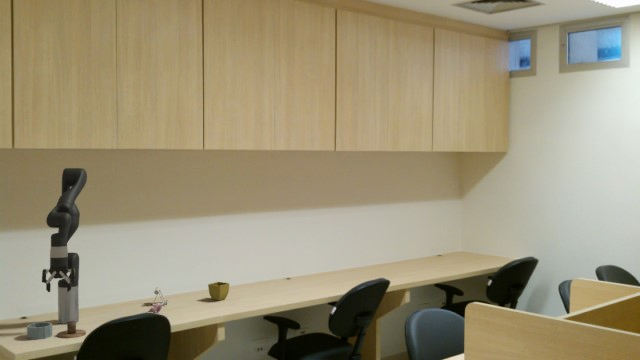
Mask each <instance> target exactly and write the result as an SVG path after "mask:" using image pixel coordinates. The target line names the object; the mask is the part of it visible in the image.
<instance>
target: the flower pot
mask: <svg viewBox="0 0 640 360" xmlns="http://www.w3.org/2000/svg"><path fill="white" fill-rule="evenodd" d="M207 286H208V288H207V289H208V293H209V296H210V298H211V299H212V301H223V300H226V299H227V297H228V295H229V291H230V283H229V282H223V281H216V282H212V283H208V284H207Z"/></svg>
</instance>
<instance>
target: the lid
mask: <svg viewBox="0 0 640 360" xmlns="http://www.w3.org/2000/svg"><path fill="white" fill-rule="evenodd" d="M66 325H67V329H66V330H62V331H60V332H57V338H60V339H75V338H80V337H84V336H86V334H87V331H86V330H84V329H77V322H76V321H68V322H67V324H66Z"/></svg>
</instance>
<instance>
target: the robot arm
mask: <svg viewBox="0 0 640 360" xmlns="http://www.w3.org/2000/svg"><path fill="white" fill-rule="evenodd" d="M87 181H88V173H87V170H86V169H85V168H79V167H66V168H64V169H63V171H62V174H61V195H60V196H59V198H58V201H57V203H56V205H55V207H53V208H52V210H50V212H49V213H48V215H47V216H46V225H47V226H48V227H49V228H51V229H58V230H57V231H58V232H56V233H52V234H51V235H50V250H49V269H48V268H47V269H46V268H43V269H42V271H41V272H42V274H41V283H44V284H46V285H45V286H46V287H45V289H46V291H47V293H50V292H51V282H52V280H53V279H55V280H57V279H59V280H58V281H57V322H58V323H59V324H63V325H64V324H65V325H67V322H68V321H76V323H78V322H79V321H80V320H79V316H80V311H79V310H80V309H79V306H80V305H79V301H80V300H79V295H80V294H79V278H80V256H79V254H78V252H69V251H68V242H69V241H70V240H71V238H72V237H73V236H74V234H75V233H76V231H77V230H78V228H79V226H80V215H81V214H80V210H79V208H78V206H77V204H76V200H77V198H78V196H79V195H80V194H81V192H82V190H83V189H84V188H85V185H87ZM48 273H49V274H50V276H49V277H48V279H47V274H48ZM68 274H69V275H68Z"/></svg>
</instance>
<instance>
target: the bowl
mask: <svg viewBox="0 0 640 360" xmlns="http://www.w3.org/2000/svg"><path fill="white" fill-rule="evenodd" d="M52 336H53V323H52V322H49V321H48V322H47V321H39V322H33V323H30V324H27V325H26V338H27V339H28V340H42V339H47V338H50V337H52Z"/></svg>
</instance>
